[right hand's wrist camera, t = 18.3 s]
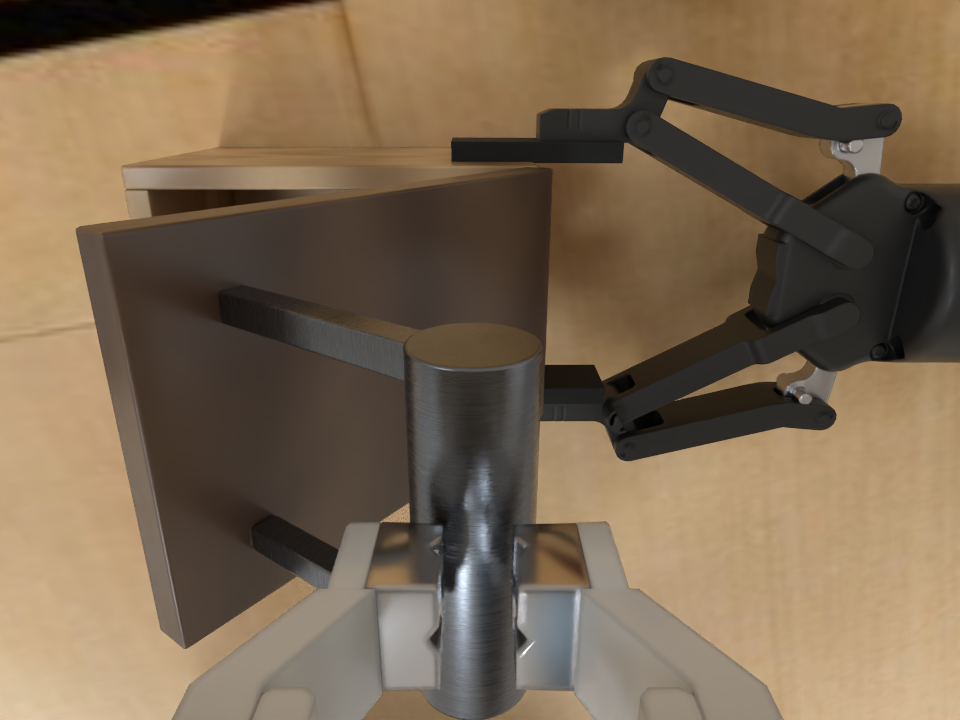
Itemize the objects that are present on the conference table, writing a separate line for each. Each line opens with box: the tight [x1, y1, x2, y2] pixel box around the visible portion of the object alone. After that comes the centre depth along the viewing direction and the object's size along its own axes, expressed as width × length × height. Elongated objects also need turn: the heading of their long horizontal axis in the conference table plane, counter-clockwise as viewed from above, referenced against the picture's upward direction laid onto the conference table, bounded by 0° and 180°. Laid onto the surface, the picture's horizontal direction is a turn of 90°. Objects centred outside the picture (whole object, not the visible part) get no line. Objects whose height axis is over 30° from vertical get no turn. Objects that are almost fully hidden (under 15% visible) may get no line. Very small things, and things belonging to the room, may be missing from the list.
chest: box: [121, 147, 538, 220], centre depth 30 cm, size 15×9×10 cm, turn 90°
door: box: [76, 167, 553, 720], centre depth 17 cm, size 15×9×8 cm
